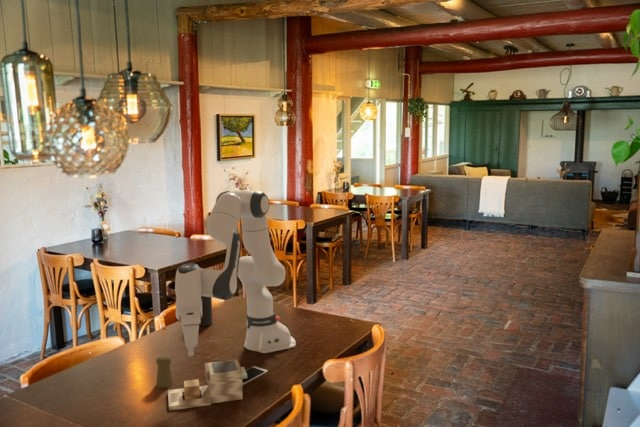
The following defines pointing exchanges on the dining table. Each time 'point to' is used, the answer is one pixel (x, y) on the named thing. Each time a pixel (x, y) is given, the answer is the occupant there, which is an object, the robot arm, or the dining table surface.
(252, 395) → the dining table surface
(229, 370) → the beige stepped box
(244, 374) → the cover
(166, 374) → the olive pepper mill
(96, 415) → the dining table surface
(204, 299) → the bottle
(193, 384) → the block
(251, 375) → the smartphone
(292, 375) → the dining table surface
